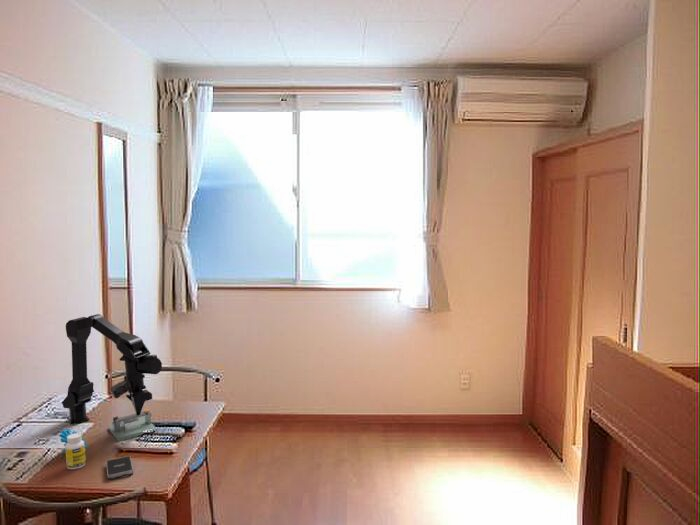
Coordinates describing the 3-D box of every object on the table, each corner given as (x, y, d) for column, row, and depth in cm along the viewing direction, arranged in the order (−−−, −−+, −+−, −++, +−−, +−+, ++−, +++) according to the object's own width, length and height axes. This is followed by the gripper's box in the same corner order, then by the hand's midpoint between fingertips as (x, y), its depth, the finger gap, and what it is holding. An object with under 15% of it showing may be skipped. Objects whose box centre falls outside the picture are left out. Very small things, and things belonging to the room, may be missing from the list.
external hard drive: (108, 482, 161) (107, 475, 161) (106, 466, 171) (106, 460, 171) (133, 476, 164) (132, 470, 164) (130, 461, 174) (130, 455, 174)
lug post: (145, 425, 203) (144, 410, 202) (148, 424, 203) (147, 409, 203) (148, 428, 199) (147, 413, 199) (152, 427, 200) (151, 412, 199)
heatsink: (121, 426, 199) (120, 419, 199) (135, 422, 202) (135, 415, 202) (125, 431, 194) (125, 423, 194) (140, 427, 197) (139, 420, 197)
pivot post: (112, 432, 196) (111, 417, 196) (118, 431, 198) (117, 416, 197) (115, 436, 193) (114, 421, 192) (121, 434, 194) (120, 419, 194)
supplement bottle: (73, 471, 168) (70, 440, 167) (63, 467, 170) (60, 437, 169) (89, 464, 172) (87, 434, 171) (79, 460, 175) (77, 430, 174)
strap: (117, 422, 194) (117, 418, 194) (116, 420, 196) (115, 416, 196) (149, 414, 200) (149, 410, 200) (147, 412, 202) (147, 408, 202)
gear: (79, 453, 176) (56, 432, 176) (66, 467, 176) (43, 446, 176) (95, 443, 187) (74, 423, 187) (83, 456, 187) (61, 436, 187)
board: (108, 428, 200) (108, 425, 200) (145, 419, 208) (144, 416, 208) (118, 441, 189) (118, 437, 189) (156, 431, 197) (156, 427, 196)
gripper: (104, 371, 200) (108, 413, 202) (117, 383, 185) (121, 428, 187) (135, 365, 207) (139, 405, 208) (150, 376, 192) (154, 419, 193)
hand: (138, 414), depth 199 cm, fingers closed, pressing on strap
